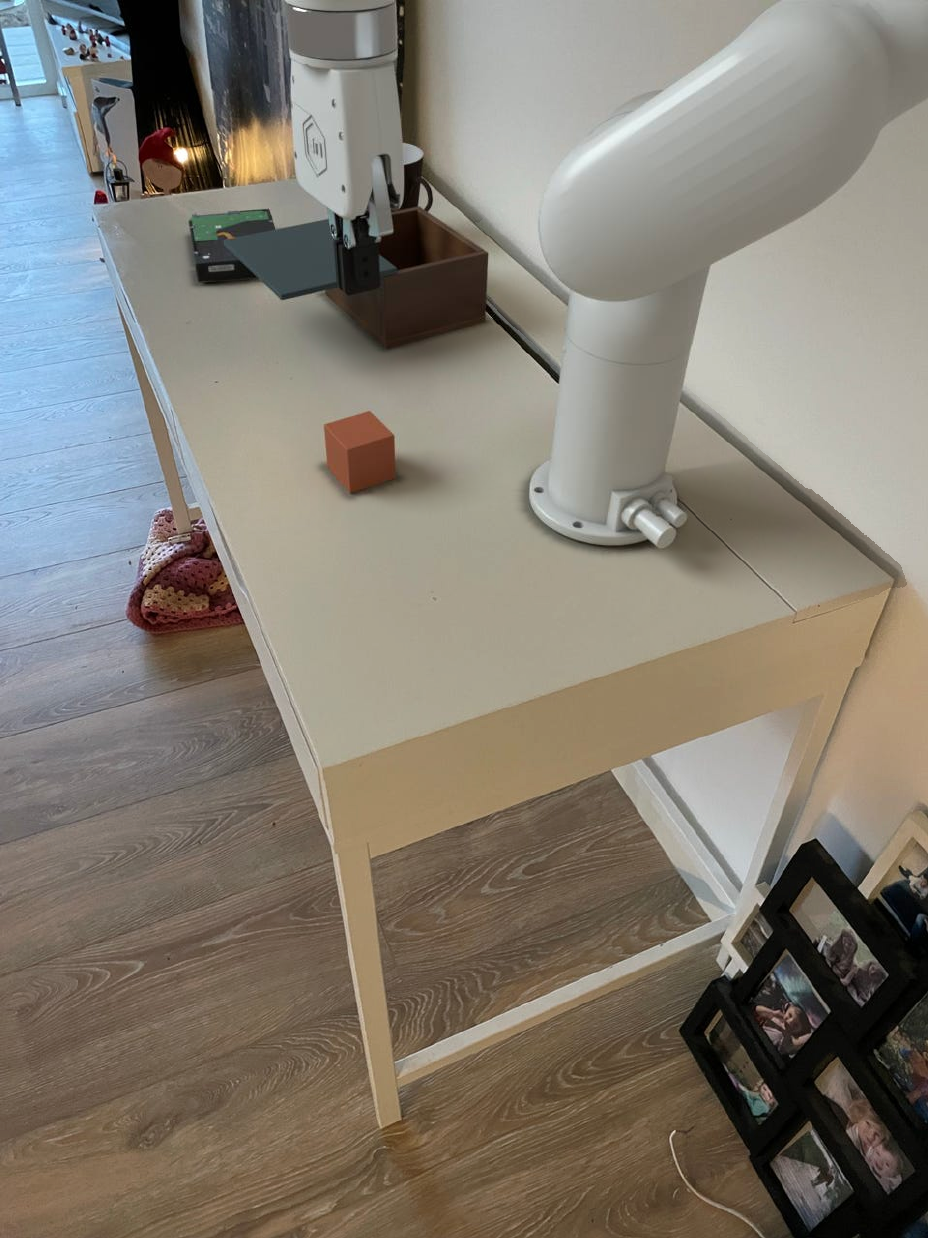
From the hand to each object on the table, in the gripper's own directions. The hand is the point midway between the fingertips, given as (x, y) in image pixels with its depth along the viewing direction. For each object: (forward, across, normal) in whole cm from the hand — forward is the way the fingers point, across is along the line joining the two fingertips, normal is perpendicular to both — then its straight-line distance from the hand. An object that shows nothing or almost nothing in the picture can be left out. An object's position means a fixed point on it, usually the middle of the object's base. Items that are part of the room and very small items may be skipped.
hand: (358, 287), depth 78 cm
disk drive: (+14, -43, +4) cm, 46 cm away
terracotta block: (+14, +5, -3) cm, 16 cm away
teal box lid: (+6, -21, +5) cm, 23 cm away
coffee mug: (+14, -38, +24) cm, 47 cm away
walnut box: (+14, -21, +16) cm, 30 cm away
